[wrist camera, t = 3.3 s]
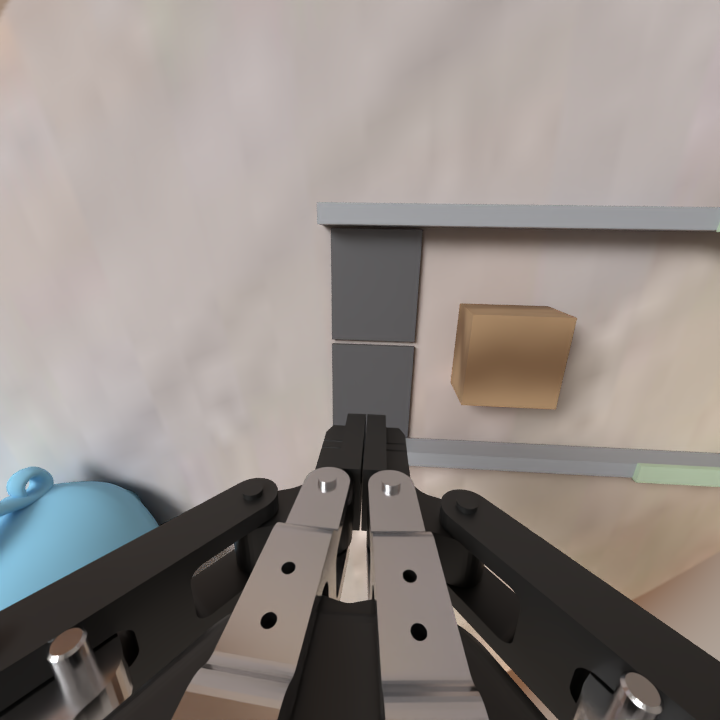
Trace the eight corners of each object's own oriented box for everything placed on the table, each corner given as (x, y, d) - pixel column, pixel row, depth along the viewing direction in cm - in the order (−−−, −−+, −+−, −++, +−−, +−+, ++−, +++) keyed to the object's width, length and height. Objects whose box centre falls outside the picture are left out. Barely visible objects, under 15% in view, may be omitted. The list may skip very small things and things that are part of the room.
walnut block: (459, 303, 24) (473, 314, 20) (546, 305, 24) (577, 317, 20) (450, 381, 26) (461, 405, 22) (530, 384, 26) (555, 409, 22)
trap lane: (322, 203, 22) (315, 199, 20) (890, 210, 20) (953, 207, 18) (326, 447, 29) (321, 465, 26) (763, 470, 27) (798, 491, 24)
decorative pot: (3, 527, 34) (-225, 699, 21) (70, 426, 30) (-170, 569, 17) (141, 611, 37) (14, 806, 24) (223, 531, 32) (118, 722, 20)
